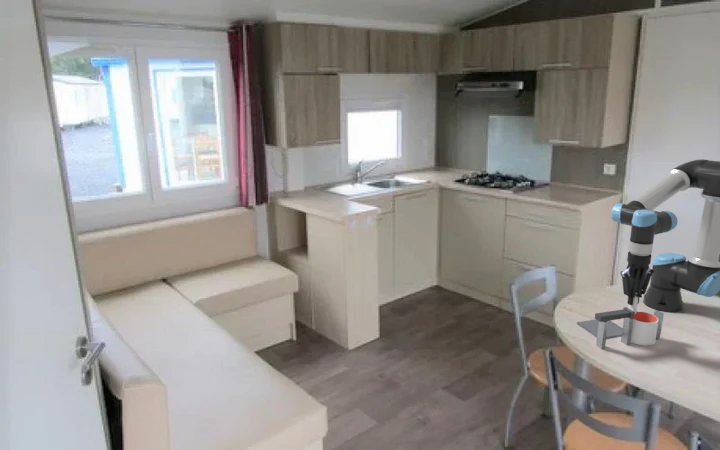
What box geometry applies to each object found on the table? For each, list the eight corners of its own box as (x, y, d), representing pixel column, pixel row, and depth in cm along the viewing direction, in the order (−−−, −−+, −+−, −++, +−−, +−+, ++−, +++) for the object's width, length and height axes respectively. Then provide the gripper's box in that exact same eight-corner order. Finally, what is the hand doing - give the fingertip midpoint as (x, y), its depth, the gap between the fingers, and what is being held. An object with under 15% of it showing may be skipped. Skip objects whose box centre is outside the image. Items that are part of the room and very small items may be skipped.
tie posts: (653, 336, 204) (657, 310, 201) (659, 339, 201) (663, 313, 198) (596, 345, 198) (599, 318, 195) (601, 349, 195) (604, 322, 192)
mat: (605, 319, 219) (606, 317, 219) (630, 334, 206) (630, 333, 206) (576, 323, 216) (576, 322, 215) (599, 339, 202) (599, 338, 202)
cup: (658, 348, 195) (662, 323, 193) (629, 346, 197) (633, 321, 195) (650, 335, 205) (653, 312, 202) (622, 333, 207) (625, 310, 204)
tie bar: (625, 313, 199) (626, 307, 198) (633, 318, 194) (634, 311, 194) (593, 318, 195) (594, 311, 195) (601, 323, 191) (602, 316, 190)
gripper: (647, 247, 195) (639, 305, 201) (617, 251, 192) (609, 310, 198) (663, 254, 188) (654, 314, 194) (632, 257, 185) (624, 318, 191)
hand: (631, 312), depth 196 cm, fingers closed
